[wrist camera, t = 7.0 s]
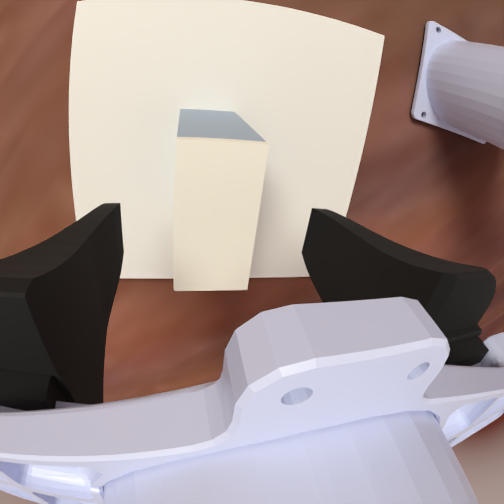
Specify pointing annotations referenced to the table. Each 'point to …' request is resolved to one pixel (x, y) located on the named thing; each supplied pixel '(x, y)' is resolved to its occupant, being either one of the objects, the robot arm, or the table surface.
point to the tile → (220, 99)
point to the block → (216, 200)
